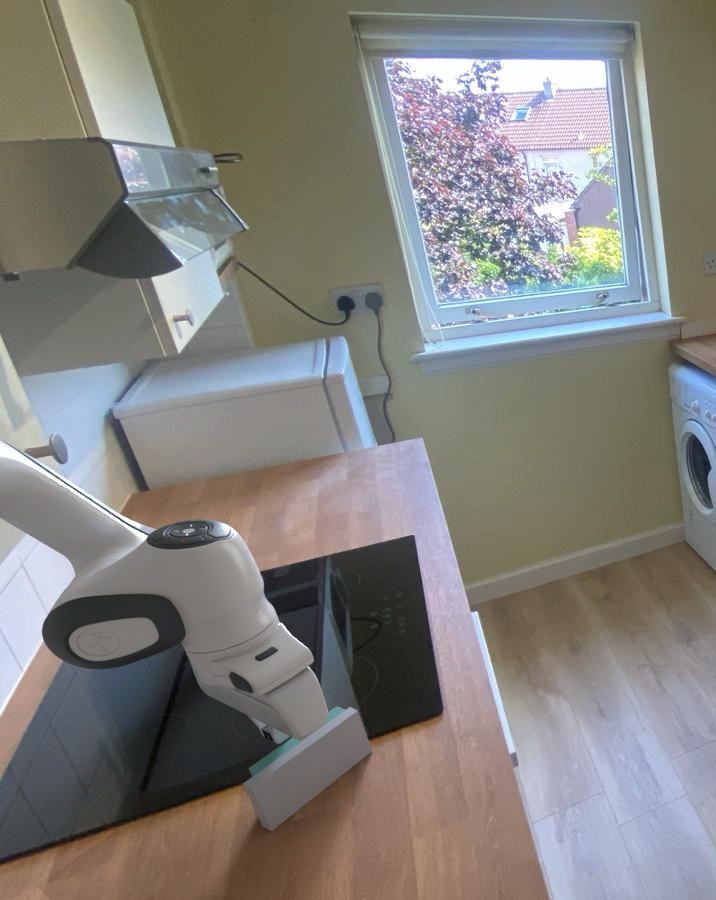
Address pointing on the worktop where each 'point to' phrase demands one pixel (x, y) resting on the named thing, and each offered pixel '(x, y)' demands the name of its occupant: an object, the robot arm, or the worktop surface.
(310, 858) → the worktop surface
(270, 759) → the whetstone
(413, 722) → the worktop surface
